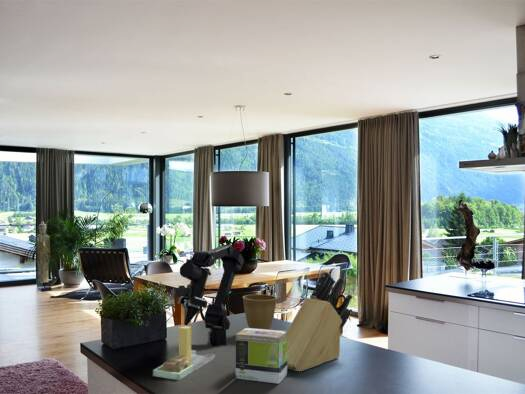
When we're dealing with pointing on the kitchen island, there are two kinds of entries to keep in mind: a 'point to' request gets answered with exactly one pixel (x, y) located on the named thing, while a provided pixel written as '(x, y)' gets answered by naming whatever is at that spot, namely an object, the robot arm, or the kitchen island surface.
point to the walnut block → (172, 366)
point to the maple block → (183, 361)
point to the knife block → (317, 326)
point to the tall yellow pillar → (185, 343)
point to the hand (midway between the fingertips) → (185, 325)
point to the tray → (172, 373)
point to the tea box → (261, 355)
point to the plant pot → (259, 310)
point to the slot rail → (200, 359)
